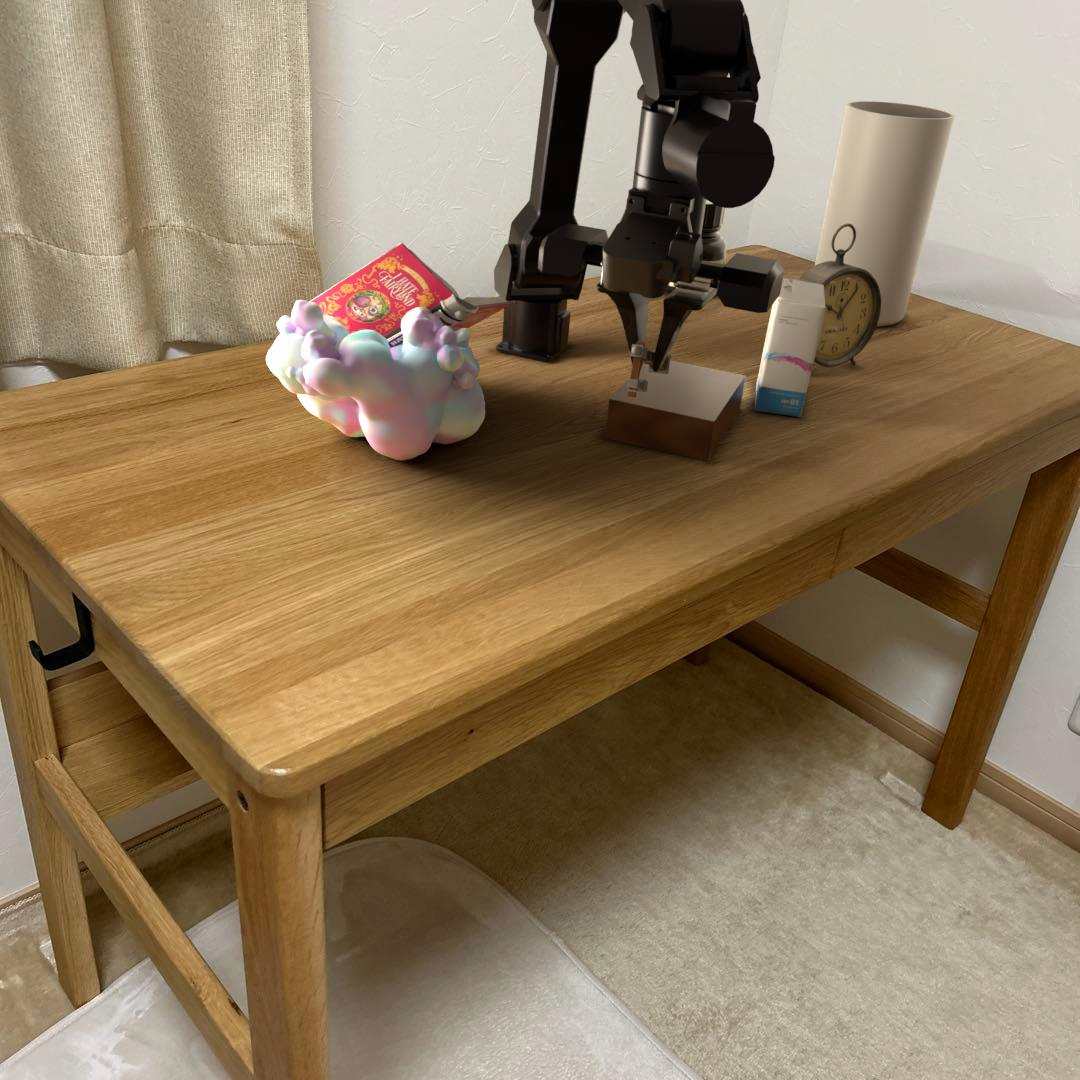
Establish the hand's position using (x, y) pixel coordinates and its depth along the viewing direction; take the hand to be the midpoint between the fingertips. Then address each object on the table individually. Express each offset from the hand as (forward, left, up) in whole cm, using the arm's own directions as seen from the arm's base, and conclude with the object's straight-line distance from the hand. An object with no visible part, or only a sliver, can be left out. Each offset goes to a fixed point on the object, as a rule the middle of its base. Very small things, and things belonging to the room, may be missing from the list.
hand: (646, 368), depth 89 cm
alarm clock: (+10, +37, -10) cm, 40 cm away
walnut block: (0, +13, -10) cm, 17 cm away
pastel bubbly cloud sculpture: (-24, -1, -10) cm, 26 cm away
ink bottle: (-11, +58, -10) cm, 60 cm away
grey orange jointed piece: (0, 0, -2) cm, 2 cm away
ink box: (+8, +25, -10) cm, 28 cm away
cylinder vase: (+11, +61, -10) cm, 63 cm away
